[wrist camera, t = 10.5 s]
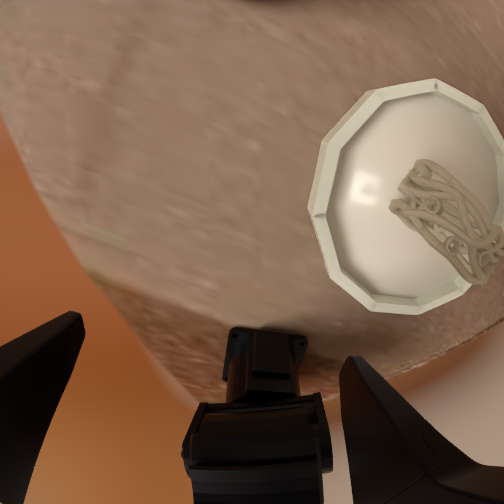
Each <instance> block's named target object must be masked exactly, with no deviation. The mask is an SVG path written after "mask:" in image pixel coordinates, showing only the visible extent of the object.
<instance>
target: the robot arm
mask: <svg viewBox="0 0 504 504" xmlns="http://www.w3.org/2000/svg"><path fill="white" fill-rule="evenodd" d="M233 334H237V335H233ZM84 338H85V328H84V324H83V319H82V315H81V314H80V313H78V312H75V311H68V312H66V313H64V314H62V315H60V316H58V317H57V318H54V319H53V320H51V321H49V322H47V323H45V324H43V325H41V326H39V327H37V328H35V329H33V330H31V331H29V332H27V333H25V334H23V335H22V336H20V337H18V338H16V339H14V340H12V341H10V342H8V343H6V344H4V345H2V346H1V347H0V502H1V503H2V504H23V503H24V500H25V496H26V493H27V489H28V486H29V483H30V479H31V476H32V473H33V470H34V468H33V467H34V466H35V463H36V460H37V457H38V455H39V452H40V449H41V446H42V444H43V441H44V438H45V436H46V433H47V430H48V428H49V425H50V423H51V420H52V418H53V415H54V413H55V411H56V408H57V406H58V404H59V401H60V399H61V397H62V394H63V392H64V390H65V387H66V385H67V383H68V381H69V379H70V376H71V374H72V372H73V369H74V366H75V363H76V360H77V357H78V355H79V352H80V349H81V346H82V344H83V341H84ZM302 341H303V342H302ZM300 342H302V343H300ZM307 345H308V340H307V338H306V337H305V336H297V335H288V334H279V333H270V332H262V331H254V330H247V329H239V328H232V329H231V330H230V331H229V336H228V343H227V349H226V356H225V362H224V369H223V376H222V380H223V381H225V382H227V392H226V402H225V403H212V404H208V403H207V402H206V403H200V404H199V406H198V409H197V411H196V412H195V415H194V417H193V420H192V422H191V424H190V427H189V429H188V431H187V434H186V436H185V439H184V441H183V444H182V449H183V450H182V451H181V457H182V458H183V460H184V466H185V470H186V472H187V475H188V476H189V477H190V478H191V481H192V488H193V498H194V504H324V496H323V480H322V473H323V474H324V473H330V472H332V471H333V454H332V445H331V437H330V431H329V426H328V422H327V418H326V414H325V410H324V406H323V402H322V398H321V394H320V392H317V393H313V394H312V395H306V396H301V395H300V387H299V379H298V369H299V366H300V363H301V361H302V358H303V356H304V353H305V350H306V348H307ZM227 377H228V378H227ZM339 384H340V402H341V417H342V424H343V429H344V437H345V443H346V450H347V457H348V463H349V471H350V479H351V487H352V495H353V504H504V467H499V466H487V465H482V464H479V463H477V462H475V461H473V460H472V459H471V458H469V457H468V456H467V455H466V454H464V453H463V452H462V451H461V450H459V449H458V448H457V447H456V446H454V445H453V444H452V443H451V442H450V441H448V440H447V439H446V438H445V437H444V436H442V435H441V434H440V433H439V432H438V431H437V430H436V429H435V428H434V427H433V426H432V425H431V424H430V423H429V422H428V421H426V420H425V419H424V418H423V417H422V416H421V415H420V414H419V413H418V412H417V411H416V410H415V409H414V408H413V407H412V406H411V405H410V404H409V403H408V402H407V401H406V400H405V399H404V398H403V397H402V396H401V395H400V394H399V393H398V392H397V391H396V390H395V389H394V388H393V387H392V386H391V385H390V384H389V383H388V382H387V381H386V380H385V379H384V378H383V377H382V376H381V375H380V374H379V373H378V372H377V371H376V370H375V369H374V368H373V367H372V366H371V365H370V364H369V363H368V362H367V361H366V360H364V359H363V358H362V357H361V356H359V355H349V356H348V357H347V359H346V361H345V363H344V365H343V367H342V369H341V371H340V374H339Z"/></svg>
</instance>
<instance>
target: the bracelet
mask: <svg viewBox="0 0 504 504" xmlns="http://www.w3.org/2000/svg"><path fill="white" fill-rule="evenodd" d="M431 170H432V171H433V172H434V173H436V174H437V175H438V176H440V177H441V178H442V179H444V180H445V181H446V182H447V183H448V184H446V183H444V182H441V181H437V180H433V179H431V177H432V171H431ZM397 190H399V191H400V192H401V193H403V194H404V195H406V193H407V192H408V195H409V197H410V205H409V204H408V203H407V202H406V201H404V200H403V199H392V200H391V203H390V205H389V206H388V207H389V210H390V211H391V213H393V214H395V215H396V216H398V217H399V218H400V220H401V221H402V222H403V223H404V224H405V225H406V226H407V227H408V228H409V229H411V230H413V231H414V232H417V233H419V234H420V235H421V236H422V237H423V238H424V239H425V240H426V241H427V243H428V244H429V245H430V246H431V247H432V248H434V249H435V250H436V251H437V252H439V253H440V254H441V255H442V256H444V257H445V258H446V259H447V260H448V261H449V262H450V263H451V264H452V265H453V267H454V268H455V269H456V271H457V272H458V273H459V275H460V276H461V277H462V278H463V279H464V280H465V281H467V282H468V283H470V284H473V285H484V284H487V283H488V280H489V278H490V277H491V276H492V274H493V273H494V271H495V269H496V267H495V266H494V265H493V264H492V263H494V264H496V263H497V262H499V261H500V257H502V256H504V250H503V248H504V231H503V229H502V228H501V226H498V225H496V224H493V223H492V222H491V220H490V217H489V215H488V213H487V211H486V208H485V207H484V205H483V204H482V202H481V201H480V200H479V199H478V198H477V197H476V196H475V195H474V194H473V193H472V192H470V191H469V190H468V189H467V188H466V187H465V186H464V185H462V184H461V183H460V182H459V181H458V180H457V179H456V178H454V177H453V176H452V175H451V174H450V173H449V172H448V171H446V170H445V169H444V168H443V167H442V166H440V165H438V164H437V163H435V162H433V161H430V160H427V159H420V160H419V159H418V160H416V162H415V163H414V166H413V169H411V170H409V174H407V175H406V177H405V178H403V180H402V181H401V183H400V184H399V186H398V188H397ZM436 190H437V191H436ZM426 200H427V201H426ZM441 200H450V201H454V202H456V203H457V207H458V209H457V208H456V207H455V206H454V205H452V204H451V203H449V202H447V201H441ZM444 208H447V209H449V210H450V211H451V212H452V213H453V214H454V215H455V216H456V217H455V216H454V215H452V214H450V213H448V212H446V211H445V210H443V209H444ZM468 212H469V213H470V215H471V216H472V217H473V219H474V220H475V222H473V221H470V219H469V216H468ZM440 215H442V216H444V217H446V218H447V219H449V220H451V221H453V222H455V223H457V224H459V225H461V226H463V227H464V230H465V231H463V230H462V229H461V228H459V227H458V226H457V225H455V224H454V223H452V222H451V221H449V220H447V219H446V218H444V217H442V216H440ZM423 220H426V221H430V222H432V223H433V227H431V226H429V225H428V224H426V223H425V222H424V221H423ZM437 225H439V226H440V227H439V228H438V227H437ZM444 229H446V230H447V231H449V232H451V233H452V234H453V235H454V236H449V237H447V236H446V235H445V234H444V233H442V231H443V230H444ZM474 229H478V230H480V233H481V236H480V235H479V234H478V233H477V232H475V231H474ZM493 240H494V241H495V242H496V243H495V242H493ZM462 253H463V254H467V255H468V257H469V262H468V261H467V260H466V259H465V258H464V256H463V255H462Z"/></svg>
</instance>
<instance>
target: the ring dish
mask: <svg viewBox="0 0 504 504" xmlns="http://www.w3.org/2000/svg"><path fill="white" fill-rule="evenodd" d="M418 159H419V160H420V159H427V160H430V161H433V162H435V163H437V164H438V165H440V166H442V167H443V168H444V169H445V170H446V171H448V172H449V173H450V174H451V175H452V176H453V177H454V178H456V179H457V180H458V181H459V182H460V183H461V184H462V185H464V186H465V187H466V188H467V189H468V190H469V191H470V192H472V193H473V194H474V195H475V196H476V197H477V198H478V199H479V200H480V201H481V202H482V204H483V205H484V207H485V208H486V211H487V213H488V215H489V217H490V220H491V222H492V223H493V224H496V225H498V226H501V228H502V229H503V231H504V140H503V138H502V136H501V134H500V132H499V130H498V128H497V127H496V125H495V123H494V121H493V120H492V118H491V116H490V115H489V113H488V111H487V110H486V108H485V106H484V105H483V104H481V103H480V102H478V101H476V100H475V99H473V98H471V97H469V96H468V95H466V94H464V93H462V92H461V91H459V90H457V89H455V88H453V87H451V86H449V85H448V84H446V83H444V82H442V81H440V80H438V79H436V78H434V79H426V80H420V81H414V82H409V83H403V84H398V85H393V86H388V87H383V88H379V89H374V90H369V91H366V92H365V93H364V94H363V95H362V96H361V97H360V99H359V100H358V101H357V102H356V103H355V104H354V105H353V106H352V107H351V108H350V109H349V111H348V112H347V113H346V114H345V115H344V116H343V117H342V118H341V119H340V120H339V121H338V123H337V124H336V125H335V126H334V127H333V128H332V129H331V130H330V131H329V132H328V134H327V135H326V136H325V137H324V138H323V139H322V141H321V146H320V151H319V156H318V160H317V165H316V170H315V175H314V179H313V184H312V188H311V193H310V197H309V202H308V206H307V209H308V212H309V215H310V218H311V221H312V224H313V227H314V231H315V234H316V237H317V240H318V243H319V247H320V250H321V253H322V257H323V260H324V264H325V267H326V269H327V272H328V274H329V277H330V278H331V279H332V280H333V281H334V282H336V283H337V284H338V285H339V286H341V287H342V288H343V289H344V290H345V291H347V292H348V293H349V294H350V295H352V296H353V297H354V298H355V299H356V300H358V301H359V302H360V303H361V304H362V305H364V306H365V307H366V308H367V309H368V310H370V311H375V312H385V313H397V314H409V315H419V314H422V313H424V312H426V311H429V310H431V309H433V308H435V307H438V306H440V305H442V304H444V303H447V302H449V301H451V300H453V299H455V298H457V297H459V296H462V295H463V294H464V293H465V292H466V290H467V289H468V288H469V287H470V286H471V285H472V284H470V283H468V282H467V281H465V280H464V279H463V278H462V277H461V276H460V275H459V273H458V272H457V271H456V269H455V268H454V267H453V265H452V264H451V263H450V262H449V261H448V260H447V259H446V258H445V257H444V256H442V255H441V254H440V253H439V252H437V251H436V250H435V249H434V248H432V247H431V246H430V245H429V244H428V243H427V241H426V240H425V239H424V238H423V237H422V236H421V235H420V234H419V233H417V232H414V231H413V230H411V229H409V228H408V227H407V226H406V225H405V224H404V223H403V222H402V221H401V220H400V218H399V217H398V216H396V215H395V214H393V213H391V211H390V210H389V207H388V206H389V205H390V203H391V200H392V199H403V200H404V201H406V202H407V203H408V204H409V205H410V197H409V195H408V192H407V193H406V195H404V194H403V193H401V192H400V191H399V190H397V188H398V186H399V184H400V183H401V181H402V180H403V178H405V177H406V175H407V174H409V170H411V169H413V166H414V163H415V162H416V160H418ZM431 171H432V170H431ZM431 179H433V180H437V181H441V182H444V183H446V184H448V183H447V182H446V181H445V180H444V179H442V178H441V177H440V176H438V175H437V174H436V173H434V172H433V171H432V177H431ZM436 191H437V190H436ZM426 201H427V200H426ZM441 201H447V202H449V203H451V204H452V205H454V206H455V207H456V208H457V209H458V207H457V203H456V202H454V201H450V200H441ZM443 210H445V211H446V212H448V213H450V214H452V215H454V214H453V213H452V212H451V211H450V210H449V209H447V208H444V209H443ZM440 216H442V215H440ZM454 216H455V215H454ZM468 216H469V219H470V221H473V222H475V220H474V219H473V217H472V216H471V215H470V213H469V212H468ZM442 217H444V216H442ZM455 217H456V216H455ZM444 218H446V217H444ZM446 219H447V218H446ZM447 220H449V219H447ZM423 221H424V222H425V223H426V224H428V225H429V226H431V227H433V223H432V222H430V221H426V220H423ZM449 221H451V220H449ZM451 222H452V223H454V224H455V225H457V226H458V227H459V228H461V229H462V230H463V231H465V230H464V227H463V226H461V225H459V224H457V223H455V222H453V221H451ZM437 227H438V228H439V227H440V226H439V225H437ZM474 231H475V232H477V233H478V234H479V235H480V236H481V233H480V230H478V229H474ZM442 233H444V234H445V235H446V236H447V237H449V236H454V235H453V234H452V233H451V232H449V231H447V230H446V229H444V230H443V231H442ZM493 242H495V241H494V240H493ZM495 243H496V242H495ZM462 255H463V256H464V258H465V259H466V260H467V261H468V262H469V257H468V255H467V254H463V253H462Z"/></svg>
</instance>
